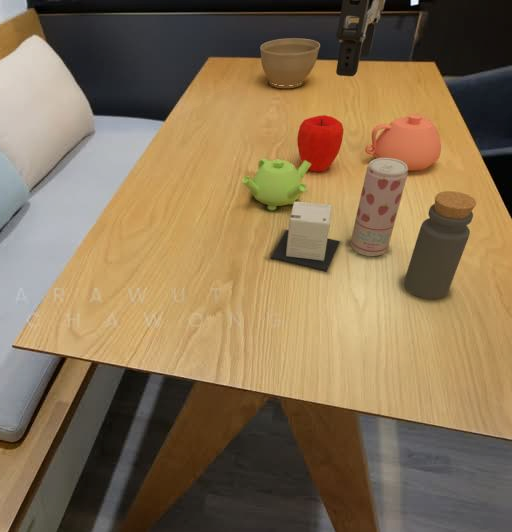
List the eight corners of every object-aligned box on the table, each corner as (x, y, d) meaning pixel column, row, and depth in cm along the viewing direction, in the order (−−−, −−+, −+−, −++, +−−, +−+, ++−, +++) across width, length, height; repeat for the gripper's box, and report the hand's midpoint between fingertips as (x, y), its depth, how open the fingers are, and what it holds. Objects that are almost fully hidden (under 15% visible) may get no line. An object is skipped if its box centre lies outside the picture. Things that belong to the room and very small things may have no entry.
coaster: (339, 242, 89) (339, 240, 89) (326, 272, 83) (327, 270, 83) (286, 231, 93) (286, 229, 93) (270, 258, 87) (270, 256, 87)
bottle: (449, 281, 78) (482, 193, 70) (445, 304, 75) (479, 214, 66) (406, 271, 81) (433, 185, 72) (400, 293, 77) (427, 205, 68)
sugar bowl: (444, 176, 103) (459, 127, 97) (367, 175, 106) (378, 127, 100) (427, 150, 113) (440, 103, 107) (357, 150, 116) (367, 105, 110)
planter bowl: (279, 72, 164) (283, 35, 157) (325, 81, 153) (331, 42, 147) (246, 86, 156) (248, 48, 150) (292, 97, 145) (297, 56, 139)
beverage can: (351, 255, 86) (370, 173, 77) (348, 236, 90) (365, 156, 81) (389, 258, 84) (413, 174, 75) (384, 238, 89) (405, 157, 80)
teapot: (252, 183, 108) (255, 145, 103) (310, 190, 104) (316, 150, 99) (239, 210, 100) (241, 170, 95) (301, 219, 96) (307, 177, 91)
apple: (299, 156, 116) (306, 108, 110) (341, 162, 112) (350, 113, 106) (288, 173, 110) (294, 123, 104) (331, 180, 106) (340, 129, 100)
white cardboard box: (326, 241, 89) (333, 203, 84) (323, 262, 84) (330, 223, 80) (288, 237, 91) (293, 200, 86) (284, 256, 86) (289, 218, 82)
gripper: (413, -91, 48) (376, 85, 58) (430, -103, 58) (395, 50, 67) (328, -86, 52) (306, 80, 61) (357, -98, 61) (334, 47, 71)
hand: (353, 64), depth 64 cm, fingers open, 8 cm apart
